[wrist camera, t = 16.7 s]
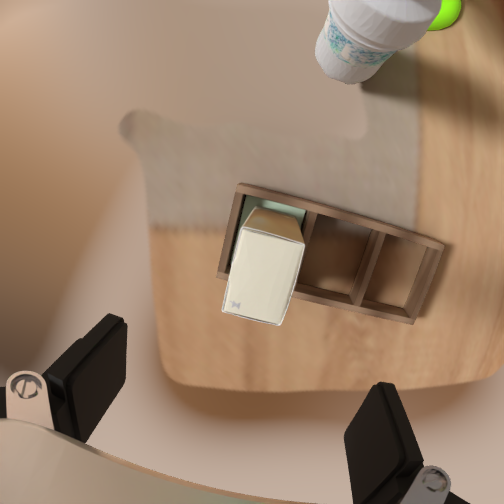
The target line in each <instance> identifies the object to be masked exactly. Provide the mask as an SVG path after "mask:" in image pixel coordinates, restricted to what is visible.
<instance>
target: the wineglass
mask: <svg viewBox="0 0 504 504" xmlns="http://www.w3.org/2000/svg"><path fill="white" fill-rule="evenodd" d="M460 10H461V0H442V4H441V9H440V12H439V14H438V15H437V17H436V18H435V19H434V21H433V22H432V24H431V25H430V26H429V28H428V29H427V31H428V30H440V29H443V28H445V27H448V26H450V25H451V24H452V23H453V22H454V21H455V20H456V19H457V18H458V15H459V12H460Z"/></svg>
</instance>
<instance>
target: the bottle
mask: <svg viewBox="0 0 504 504" xmlns="http://www.w3.org/2000/svg"><path fill="white" fill-rule="evenodd" d="M441 4H442V0H329V8H330V10H329V13H328V17H327V19H326V22H325V25H324V28H323V30H322V31H321V33H320V35H319V37H318V39H317V43H316V49H315V55H316V59H317V61H318V62H319V64H320V66H321V67H322V68H323V71H324V73H325V74H326V75H327V76H328V77H330V78H332V79H336V80H339V81H341V82H344V83H345V84H356V83H359V82H363V81H365V80H367V79H369V78H370V77H371V76H373V75H374V74H375V73H376V72H377V71H378V69H379V68H380V67H381V65H382V64H383V63H384V62H385V61H386V60H387V59H388V58H389V57H391V56H392V55H393V54H394V53H395V52H396V51H397V50H402V49H405V48H407V47H409V46H410V45H412V44H413V43H415V42H417V41H418V40H420V39H421V38H422V37H423V36H424V34H425V33H426V31H427V29H428V28H429V26H430V25H431V24H432V22H433V21H434V19H435V18H436V17H437V15H438V14H439V12H440V9H441Z"/></svg>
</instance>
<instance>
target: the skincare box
mask: <svg viewBox="0 0 504 504" xmlns="http://www.w3.org/2000/svg"><path fill="white" fill-rule="evenodd" d="M304 248H305V243H304V240H303V237H302V234H301V231H300V228H299V225H298V222H297V219H296V216H294V215H290V214H287V213H284V212H280V211H277V210H273V209H269V208H265V207H261V206H255V207H254V209H253V210H252V212H251V213H250V215H249V216H248V218H247V219H246V221H245V223H244V224H243V225H242V227H241V229H240V233H239V237H238V241H237V245H236V249H235V253H234V257H233V261H232V265H231V270H230V274H229V279H228V283H227V288H226V292H225V297H224V302H223V306H222V312H225V313H228V314H232V315H235V316H239V317H243V318H247V319H251V320H254V321H258V322H263V323H267V324H273V325H277V326H280V325H281V324H282V321H283V319H284V316H285V314H286V311H287V308H288V305H289V303H290V299H291V296H292V293H293V290H294V286H295V283H296V279H297V276H298V272H299V268H300V264H301V261H302V257H303V252H304Z"/></svg>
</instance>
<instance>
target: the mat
mask: <svg viewBox="0 0 504 504" xmlns="http://www.w3.org/2000/svg"><path fill="white" fill-rule="evenodd" d="M255 206H261V207H265V208H269V209H273V210H277V211H280V212H284V213H287V214H290V215H294V216H296V219H297V222H298V225H299V228H300V229H301V225H302V222H303V218H304V214H305V211H306V210H305V209H301V208H297V207H293V206H290V205H286V204H282V203H278V202H274V201H271V200H267V199H263V198H259V197H255V196H251V195H246V199H245V203H244V208H243V212H242V216H241V220H240V224H239V228H238V233H237V237H236V241H235V245H234V250H233V254H232V258H231V262H230V264H231V265H232V261H233V257H234V253H235V249H236V245H237V241H238V237H239V233H240V229H241V227H242V225H243V224H244V223H245V221H246V219H247V218H248V216H249V215H250V213H251V212H252V210H253V209H254V207H255Z"/></svg>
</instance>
